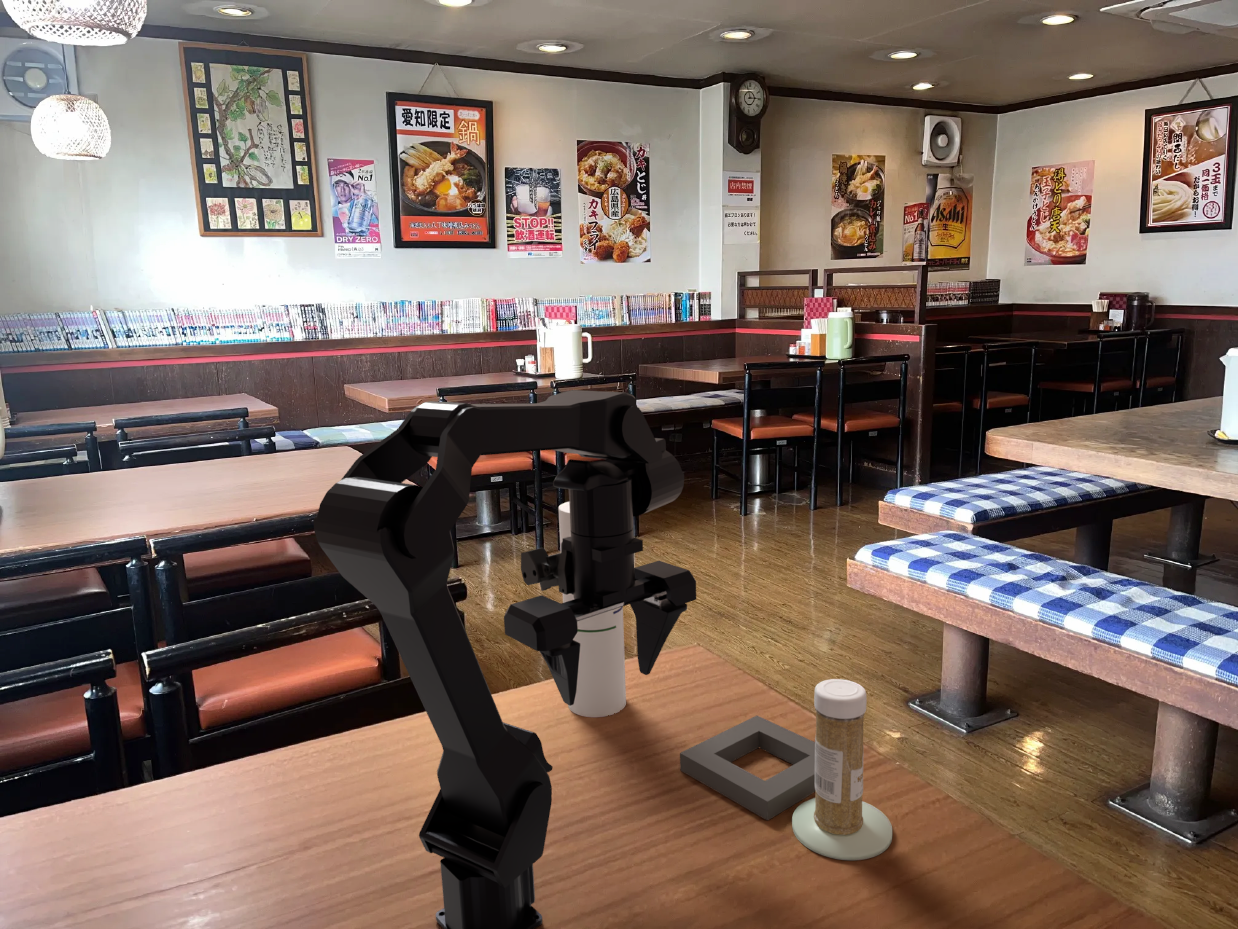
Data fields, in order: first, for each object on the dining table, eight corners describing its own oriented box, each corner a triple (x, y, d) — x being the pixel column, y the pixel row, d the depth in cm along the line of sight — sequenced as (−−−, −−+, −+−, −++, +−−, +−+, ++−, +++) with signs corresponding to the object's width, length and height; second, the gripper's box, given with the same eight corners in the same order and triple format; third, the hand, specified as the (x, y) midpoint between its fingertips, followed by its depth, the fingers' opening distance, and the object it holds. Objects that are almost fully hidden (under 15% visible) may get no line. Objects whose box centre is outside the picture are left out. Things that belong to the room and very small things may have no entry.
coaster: (852, 874, 75) (852, 868, 75) (772, 827, 82) (772, 821, 82) (911, 831, 81) (911, 825, 81) (831, 790, 88) (831, 785, 88)
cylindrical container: (636, 697, 109) (630, 502, 104) (605, 722, 103) (597, 516, 98) (589, 685, 113) (581, 496, 108) (556, 708, 107) (546, 509, 102)
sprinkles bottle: (872, 832, 80) (876, 695, 77) (826, 841, 79) (829, 702, 76) (847, 804, 84) (850, 674, 82) (804, 812, 83) (805, 680, 81)
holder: (767, 820, 83) (767, 801, 83) (680, 770, 92) (679, 753, 92) (844, 773, 91) (845, 756, 90) (756, 731, 100) (756, 715, 99)
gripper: (623, 496, 92) (628, 637, 95) (467, 532, 80) (478, 690, 83) (699, 515, 83) (701, 669, 86) (535, 558, 72) (545, 734, 75)
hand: (607, 688), depth 83 cm, fingers open, 9 cm apart
